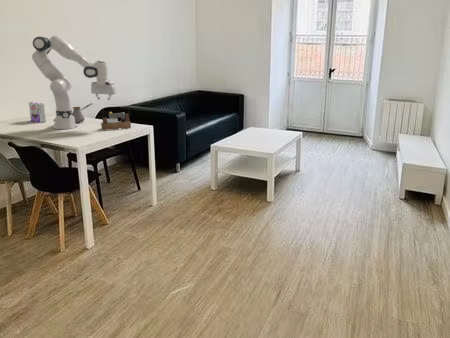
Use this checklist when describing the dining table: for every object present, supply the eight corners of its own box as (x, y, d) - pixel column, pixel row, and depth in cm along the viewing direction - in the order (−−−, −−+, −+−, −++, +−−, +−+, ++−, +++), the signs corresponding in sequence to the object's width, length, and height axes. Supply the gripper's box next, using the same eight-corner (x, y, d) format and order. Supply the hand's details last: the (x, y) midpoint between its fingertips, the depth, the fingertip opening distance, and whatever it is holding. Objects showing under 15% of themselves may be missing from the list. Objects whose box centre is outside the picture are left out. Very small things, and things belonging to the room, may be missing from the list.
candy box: (30, 120, 352) (28, 101, 347) (37, 119, 356) (34, 101, 351) (39, 123, 344) (37, 103, 339) (46, 122, 349) (44, 102, 344)
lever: (109, 122, 328) (108, 111, 326) (124, 120, 335) (123, 110, 332) (110, 122, 326) (109, 112, 323) (125, 121, 332) (125, 111, 330)
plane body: (101, 128, 329) (100, 115, 325) (128, 126, 340) (127, 113, 336) (103, 130, 323) (102, 116, 320) (130, 128, 334) (130, 114, 330)
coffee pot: (75, 124, 343) (73, 106, 339) (68, 122, 350) (66, 104, 346) (97, 120, 358) (96, 103, 354) (90, 119, 366) (89, 102, 361)
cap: (106, 122, 328) (106, 118, 327) (116, 121, 332) (116, 117, 331) (108, 123, 325) (107, 119, 324) (117, 122, 329) (117, 118, 328)
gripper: (88, 82, 323) (90, 99, 327) (112, 83, 318) (113, 100, 322) (93, 81, 329) (94, 98, 333) (116, 82, 324) (117, 99, 328)
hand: (103, 99), depth 327 cm, fingers open, 8 cm apart
